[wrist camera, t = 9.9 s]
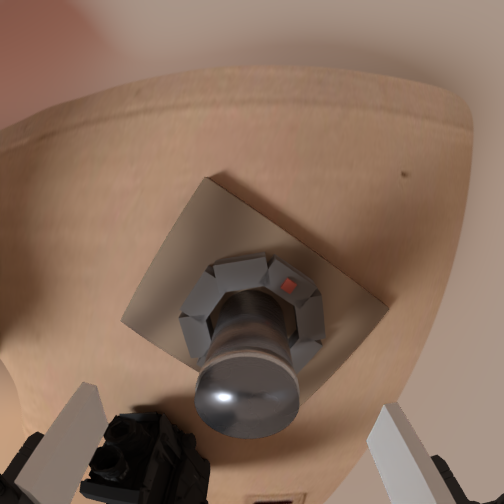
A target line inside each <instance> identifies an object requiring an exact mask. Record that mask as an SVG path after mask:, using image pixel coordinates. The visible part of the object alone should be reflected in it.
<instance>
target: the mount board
mask: <svg viewBox="0 0 504 504" xmlns="http://www.w3.org/2000/svg"><path fill="white" fill-rule="evenodd" d="M245 290H258V291H262V292H264V293H267V294H269V295H270V296H272V297H273V298H274V299H275V300H276V301H277V302H278V303H279V305H280V307H281V309H282V312H283V316H284V321H285V326H286V331H287V336H288V342H289V347H290V352H291V357H292V362H293V368H294V370H295V372H296V375H297V379H298V384H299V390H300V396H299V402H300V404H299V407H300V406H301V405H302V404H303V403H304V402H305V401H306V400H307V399H308V398H309V397H310V396H312V395H313V394H314V393H315V392H316V391H317V390H318V389H319V388H320V387H321V386H322V385H323V384H324V383H325V382H326V381H327V380H328V379H329V378H330V377H331V376H332V375H333V374H334V373H335V371H336V370H337V369H338V368H339V367H340V366H341V365H342V364H343V363H344V362H345V361H346V360H347V359H348V358H349V356H350V355H351V354H352V353H353V352H354V351H355V350H356V349H357V348H358V346H359V345H360V344H361V343H362V342H363V341H364V339H365V338H366V337H367V336H368V335H369V334H370V332H371V331H372V330H373V329H374V328H375V326H376V325H377V324H378V323H379V321H380V320H381V319H382V318H383V317H384V315H385V314H386V313H387V311H388V310H389V308H388V307H387V306H386V305H385V304H384V303H383V302H381V301H380V300H379V299H377V298H376V297H375V296H373V295H372V294H371V293H370V292H368V291H367V290H366V289H364V288H363V287H362V286H360V285H359V284H358V283H356V282H355V281H354V280H352V279H351V278H350V277H348V276H347V275H346V274H344V273H343V272H342V271H340V270H339V269H338V268H336V267H335V266H334V265H332V264H331V263H330V262H328V261H327V260H325V259H324V258H323V257H321V256H320V255H319V254H317V253H316V252H315V251H313V250H312V249H310V248H309V247H308V246H306V245H305V244H303V243H302V242H301V241H299V240H298V239H296V238H295V237H294V236H292V235H291V234H289V233H288V232H287V231H285V230H284V229H282V228H281V227H280V226H278V225H277V224H275V223H274V222H272V221H271V220H270V219H268V218H267V217H265V216H264V215H262V214H261V213H260V212H258V211H257V210H255V209H254V208H252V207H251V206H249V205H248V204H247V203H245V202H244V201H242V200H241V199H239V198H238V197H236V196H235V195H233V194H232V193H230V192H229V191H227V190H226V189H224V188H223V187H221V186H220V185H218V184H217V183H215V182H214V181H212V180H211V179H209V178H208V177H205V178H204V179H203V181H202V182H201V184H200V185H199V187H198V188H197V190H196V191H195V193H194V194H193V196H192V197H191V199H190V200H189V202H188V203H187V205H186V207H185V208H184V210H183V211H182V213H181V215H180V216H179V218H178V219H177V221H176V223H175V224H174V226H173V227H172V229H171V231H170V232H169V234H168V236H167V237H166V239H165V241H164V242H163V244H162V246H161V247H160V249H159V251H158V253H157V254H156V256H155V258H154V259H153V261H152V263H151V265H150V266H149V268H148V270H147V272H146V274H145V275H144V277H143V279H142V281H141V283H140V284H139V286H138V288H137V290H136V292H135V294H134V295H133V297H132V299H131V301H130V303H129V305H128V307H127V309H126V311H125V313H124V315H123V317H122V318H121V320H120V321H121V322H122V323H124V324H125V325H126V326H128V327H129V328H131V329H132V330H134V331H135V332H136V333H138V334H139V335H141V336H142V337H144V338H145V339H147V340H148V341H150V342H151V343H153V344H154V345H156V346H157V347H159V348H160V349H162V350H163V351H165V352H166V353H168V354H170V355H171V356H173V357H174V358H176V359H178V360H179V361H181V362H183V363H184V364H186V365H188V366H189V367H191V368H193V369H194V370H196V371H198V372H200V371H201V368H202V367H203V365H204V363H205V360H206V356H207V353H208V350H209V346H210V343H211V340H212V337H213V333H214V330H215V327H216V323H217V320H218V317H219V314H220V311H221V308H222V306H223V304H224V303H225V301H226V300H227V299H228V298H229V297H231V296H232V295H234V294H236V293H238V292H241V291H245Z"/></svg>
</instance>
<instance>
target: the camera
mask: <svg viewBox="0 0 504 504" xmlns="http://www.w3.org/2000/svg"><path fill="white" fill-rule="evenodd" d="M103 436H104V438H105V440H106V441H105V443H104V445H103V446H102V447H98V448H97V449H96V451H95V453H94V455H93V457H92V459H91V461H90V463H89V466H90V467H91V471H90V473H89V476H90V477H91V479H86V480H84V481H81V485H80V493H81V494H83V496H84V497H86V498H89V499H92V500H96V501H100V502H104V503H106V504H208V501H207V500H206V497H207V491H208V484H209V477H210V463H209V461H208V460H206V459H205V460H203V459H202V458H201V457H200V455H199V454H198V452H197V451H196V450H195V448H196V439H195V436H194V435H193V433H187V434H185V433H184V432H183V431H182V430H181V431H180V430H179V429H178V427H177V426H176V425H172V424H171V423H170V421H169V420H168V418H167V417H166V415H165V414H163V416H162V415H161V414H157V412H148V413H129V414H120V416H117V415H116V416H115V417H114V419H113V420H112V421H111V422H110V423H109V424H108V427H107V429H106V431H105V433H104V435H103Z"/></svg>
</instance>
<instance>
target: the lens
mask: <svg viewBox="0 0 504 504" xmlns="http://www.w3.org/2000/svg"><path fill="white" fill-rule="evenodd" d="M299 396H300V390H299V384H298V379H297V375H296V372H295V370H294V368H293V362H292V357H291V352H290V347H289V342H288V336H287V331H286V326H285V321H284V316H283V312H282V309H281V307H280V305H279V303H278V302H277V301H276V300H275V299H274V298H273V297H272V296H270V295H269V294H267V293H264V292H262V291H258V290H245V291H241V292H238V293H236V294H234V295H232V296H231V297H229V298H228V299H227V300H226V301H225V303H224V304H223V306H222V308H221V311H220V314H219V317H218V320H217V323H216V327H215V330H214V333H213V337H212V340H211V343H210V346H209V350H208V353H207V356H206V360H205V363H204V365H203V367H202V368H201V371H200V373H199V376H198V380H197V383H196V393H195V407H196V410H197V413H198V414H199V416H200V417H201V419H202V420H203V421H204V422H205V423H206V424H207V425H208V426H210V427H211V428H212V429H214V430H216V431H217V432H220V433H222V434H224V435H227V436H231V437H235V438H243V439H255V438H262V437H267V436H270V435H273V434H275V433H277V432H279V431H281V430H283V429H284V428H286V427H287V426H288V425H289V424H290V423H291V422H292V421H293V420H294V418H295V417H296V415H297V413H298V410H299V404H300V402H299Z"/></svg>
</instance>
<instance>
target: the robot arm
mask: <svg viewBox="0 0 504 504" xmlns="http://www.w3.org/2000/svg"><path fill="white" fill-rule="evenodd" d="M107 427H108V422H107V419H106V416H105V412H104V409H103V406H102V403H101V399H100V396H99V392H98V389H97V386H96V385H92V384H89V383H85V382H83V383H82V384H81V385H80V387H79V388H78V389H77V391H76V392H75V393H74V395H73V396H72V397H71V399H70V400H69V401H68V403H67V404H66V406H65V407H64V408H63V410H62V411H61V412H60V414H59V415H58V417H57V418H56V420H55V421H54V422H53V424H52V425H51V427H50V428H49V430H48V431H47V432H46V434H45V435H44V434H42V433H39V432H36V433H34V434H32V435H31V436H29V437H28V439H27V440H26V441H25V443H24V444H23V447H21V449H20V450H19V453H17V454H16V456H15V457H14V458H13V460H12V461H11V463H10V465H9V466H8V468H7V469H6V470H5V472H4V473H3V474H2V475H1V474H0V504H70V503H71V501H72V498H73V496H74V494H75V492H76V490H77V487H78V486H79V483H80V481H81V479H82V477H83V475H84V473H85V471H86V469H87V467H88V465H89V463H90V461H91V459H92V457H93V455H94V453H95V451H96V449H97V447H98V445H99V443H100V441H101V439H102V437H103V435H104V433H105V431H106V429H107ZM366 442H367V444H368V447H369V449H370V451H371V454H372V456H373V458H374V461H375V464H376V466H377V468H378V471H379V473H380V476H381V478H382V481H383V483H384V486H385V488H386V491H387V493H388V496H389V498H390V501H391V503H392V504H480V503H479V502H476V501H469V500H468V499H467V497H466V496H465V494H464V492H463V490H462V489H461V487H460V485H459V484H458V482H457V480H456V478H455V477H453V473H452V472H451V470H450V468H449V467H448V465H447V463H446V462H445V460H443V459H442V458H441V457H440V456H438V455H435V456H432V457H430V456H429V454H428V452H427V451H426V449H425V447H424V445H423V444H422V442H421V440H420V439H419V437H418V436H417V434H416V432H415V430H414V429H413V427H412V425H411V424H410V422H409V421H408V419H407V417H406V415H405V414H404V412H403V411H402V409H401V407H400V406H399V404H398V403H397V402H396V403H389V404H384V405H383V407H382V410H381V412H380V414H379V416H378V418H377V420H376V422H375V424H374V426H373V429H372V431H371V432H370V434H369V436H368V438H367V440H366ZM483 504H504V494H502V495H501V496H500V497H499V498H497V499H496V500H495V501H491V502H487V503H483Z"/></svg>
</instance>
